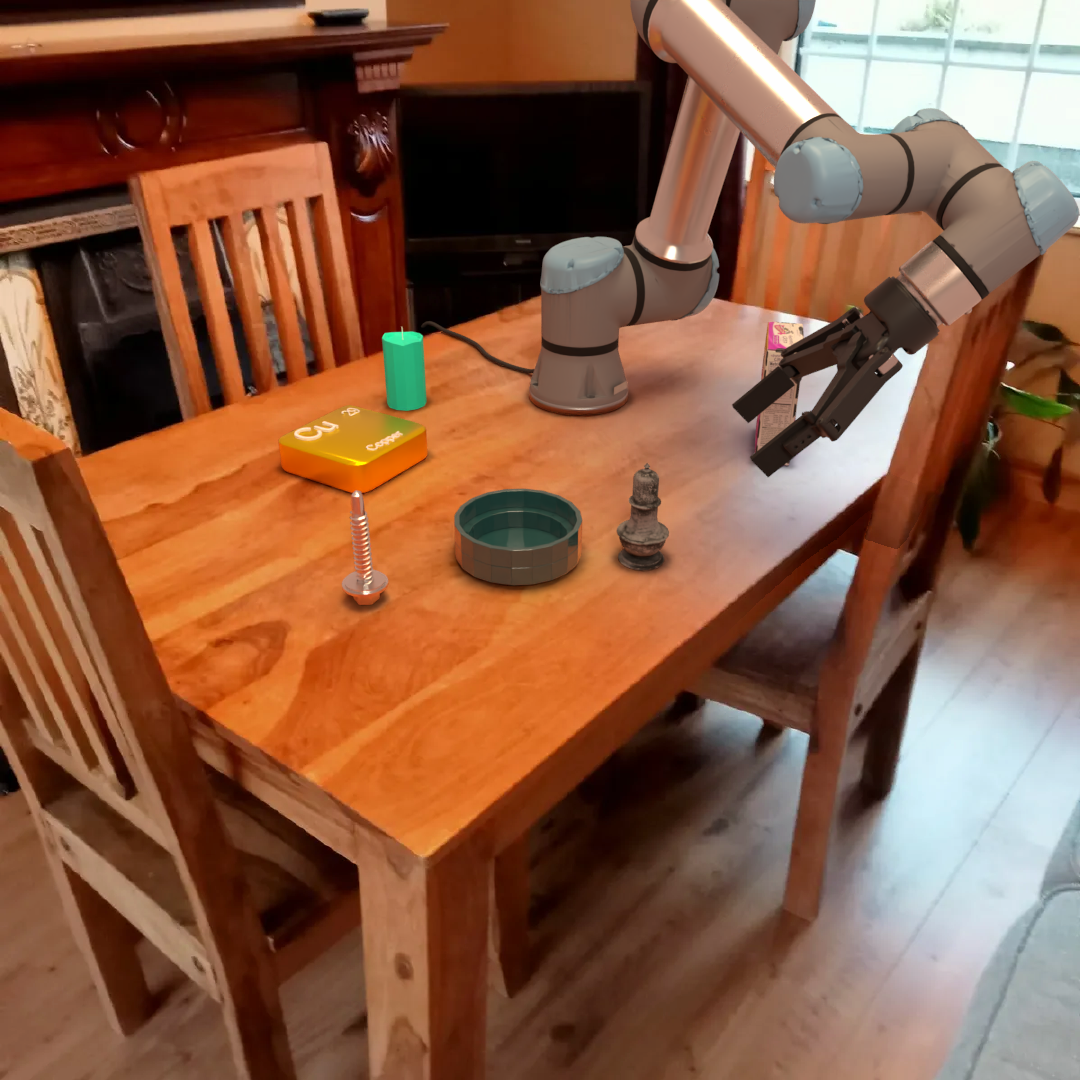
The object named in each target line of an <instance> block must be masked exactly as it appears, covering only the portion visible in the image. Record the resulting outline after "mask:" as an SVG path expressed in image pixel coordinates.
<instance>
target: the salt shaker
mask: <svg viewBox="0 0 1080 1080" xmlns="http://www.w3.org/2000/svg"><path fill="white" fill-rule="evenodd" d="M643 467H644V468H641V469H638V470H637V471H636V472H635V473H634V474H633V476H632V477H633V478H632V494H631V496H629V497H628V503H629V505H630V514H629V515H630V516H629V519H627V520H624V521H622V522H621V523H619V525H618V526H617V527H616V535H617V536H618V539H619V542H620V544H621V547H622V548H623V549H621V550H620V551H619V553H618V555H617V559H618V561H619V563H620V565H623V566H624V567H625V568H628V569H630V570H635V571H651V570H656V569H657V568H660V567H661V566H663V564H664V563H665V555H664V554H663V552H662V551H661V550H662V549H663V547H664V545H665V544H666V541H667V539H668V538H669V536H670V530H669V528H668V527H667V526H666V525H665V524H664V523H662V522H661V521H659V518H658V511H659V507H660V506H661V504H662V500H661V498H660V497H659V489H660V488H659V487H660V476H659V474H658V473H657V472H656V471H655V470H653V469H651V465H650V464H649V462H646V463H645V464H644V465H643Z"/></svg>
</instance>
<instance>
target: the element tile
mask: <svg viewBox="0 0 1080 1080" xmlns="http://www.w3.org/2000/svg"><path fill="white" fill-rule="evenodd" d="M427 436H428V435H427V428H426V426H425V425H423V424H421V423H419V422H415V421H412V420H409V419H405V418H401V417H398V416H393V415H390V414H387V413H383V412H380V411H375V410H372V409H368V408H364V407H361V406H357V405H351V404H348V405H344V406H341V407H338V408H337V409H334V410H332V411H331V412H328V413H326V414H323V415H322V416H320V417H317V418H316V419H314V420H312V421H309V422H308V423H305V424H304V425H301V426H300V427H297V428H295V429H294V430H291V431H289V432H287V433H285V434H283V435H281V436H280V437H278V440H277V441H278V450H279V457H280V458H279V459H280V463H281V464H280V465H281V468H282V470H283V471H285V472H287V473H289V474H292V475H296V476H298V477H302V478H304V479H307V480H310V481H314V482H316V483H319V484H322V485H326V486H328V487H332V488H335V489H338V490H341V491H344V492H347V493H351V494H352V493H353V492H354V491H356V490H358V491H361V492H362V494H365V493H368V492H371V491H373V490H374V489H376V488H378V487H380V486H381V485H383V484H385V483H386V482H388V481H390V480H392V479H393V478H395V477H397V476H398V475H400V474H402V473H403V472H405V471H406V470H409V469H410V468H411V467H414V466H415V465H417V464H418V463H420V462H422V461H423V460H425V459H426V458H427V456H428V453H429V452H428V439H427V438H428V437H427Z"/></svg>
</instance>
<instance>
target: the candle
mask: <svg viewBox="0 0 1080 1080" xmlns="http://www.w3.org/2000/svg"><path fill="white" fill-rule="evenodd" d="M400 327H401V331H391V332H384V334H383V335H382V337H381V342H382V343H381V344H382V354H383V355H382V356H383V367H384V382H385V395H386V403H387V404H386V405H387V406H388V408H390V409H392V410H396V411H403V412H404V411H405V412H407V411H414V410H415V411H416V410H419V409H422V408H423V407H425V406H426V404H427V401H428V400H427V399H428V398H427V385H426V384H427V381H426V380H427V379H426V363H425V347H424V335H423V334H422V333H420V332H416V331H404V328H403V326H400Z"/></svg>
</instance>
